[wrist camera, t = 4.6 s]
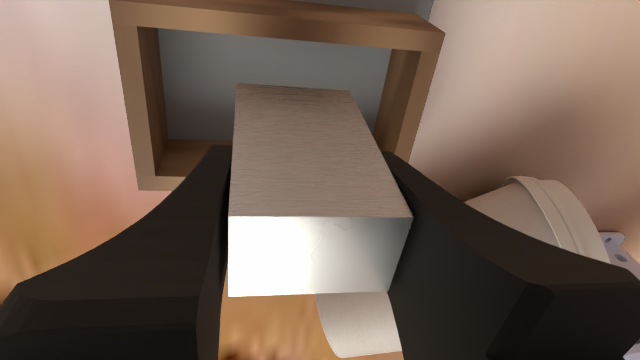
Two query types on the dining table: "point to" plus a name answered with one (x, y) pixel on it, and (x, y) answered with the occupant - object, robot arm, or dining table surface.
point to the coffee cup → (501, 204)
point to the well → (271, 22)
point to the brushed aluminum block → (309, 196)
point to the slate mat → (265, 71)
